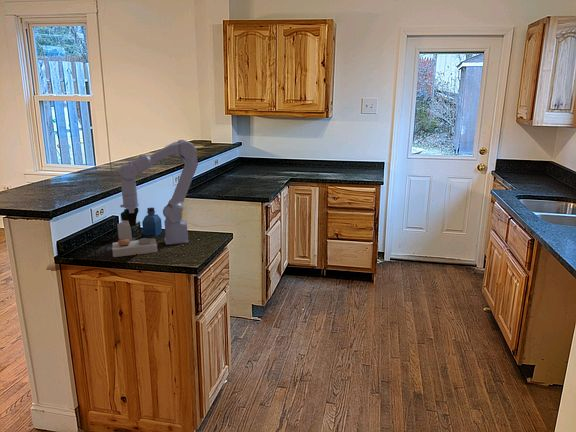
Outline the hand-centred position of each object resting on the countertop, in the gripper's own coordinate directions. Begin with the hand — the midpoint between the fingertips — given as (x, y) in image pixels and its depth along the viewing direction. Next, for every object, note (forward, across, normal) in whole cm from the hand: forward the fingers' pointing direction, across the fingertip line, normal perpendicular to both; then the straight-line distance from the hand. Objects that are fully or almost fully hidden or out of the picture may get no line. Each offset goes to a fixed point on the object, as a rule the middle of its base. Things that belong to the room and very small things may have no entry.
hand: (132, 226), depth 190 cm
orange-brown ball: (+8, +5, -4) cm, 10 cm away
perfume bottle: (+10, -18, +9) cm, 22 cm away
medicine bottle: (+10, -15, -1) cm, 18 cm away
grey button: (+9, +5, +4) cm, 11 cm away
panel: (+9, +5, 0) cm, 11 cm away
